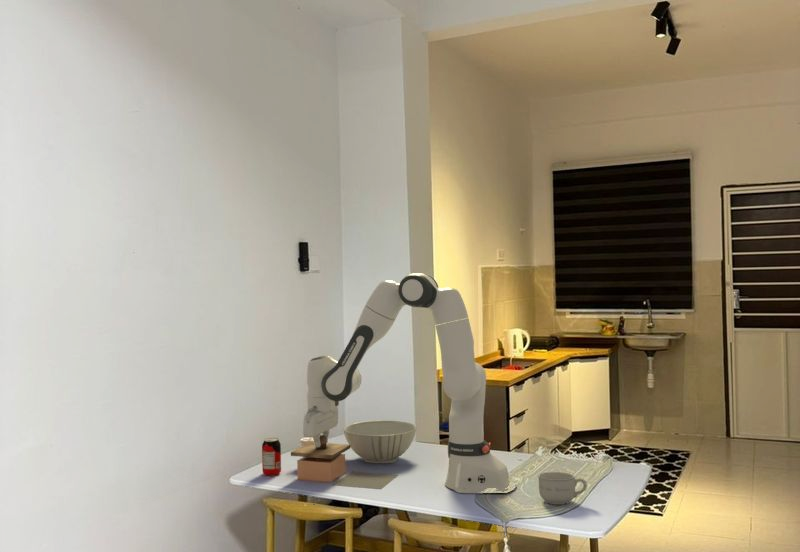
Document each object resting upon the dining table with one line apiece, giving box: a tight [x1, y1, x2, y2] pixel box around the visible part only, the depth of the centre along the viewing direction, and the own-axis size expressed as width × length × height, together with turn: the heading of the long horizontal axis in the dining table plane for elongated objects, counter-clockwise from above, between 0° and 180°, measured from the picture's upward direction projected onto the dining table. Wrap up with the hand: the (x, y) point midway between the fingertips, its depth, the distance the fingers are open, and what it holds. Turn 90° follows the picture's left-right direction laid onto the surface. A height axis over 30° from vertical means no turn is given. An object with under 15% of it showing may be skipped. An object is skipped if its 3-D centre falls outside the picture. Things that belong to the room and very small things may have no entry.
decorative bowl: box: [343, 419, 417, 464], centre depth 262 cm, size 27×27×12 cm
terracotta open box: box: [296, 453, 346, 484], centre depth 240 cm, size 12×12×7 cm
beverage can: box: [261, 437, 282, 477], centre depth 246 cm, size 6×6×12 cm
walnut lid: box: [290, 434, 351, 459], centre depth 240 cm, size 15×15×5 cm
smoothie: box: [299, 437, 314, 447], centre depth 256 cm, size 6×6×14 cm
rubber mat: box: [332, 470, 399, 490], centre depth 235 cm, size 17×17×1 cm
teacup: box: [537, 471, 588, 505], centre depth 209 cm, size 14×11×8 cm
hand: (321, 445), depth 240 cm, fingers closed on walnut lid, 4 cm apart
